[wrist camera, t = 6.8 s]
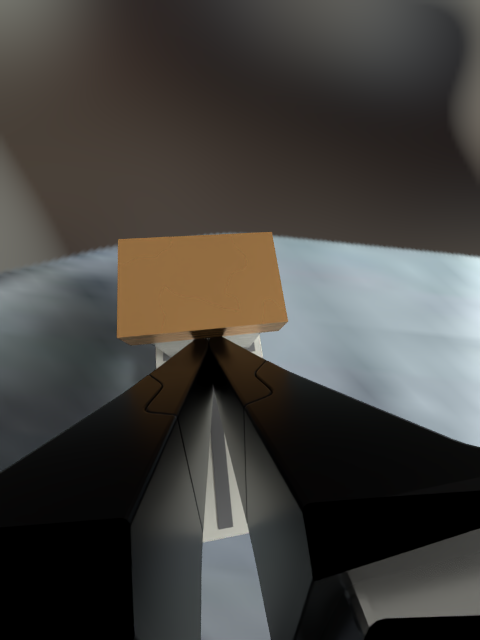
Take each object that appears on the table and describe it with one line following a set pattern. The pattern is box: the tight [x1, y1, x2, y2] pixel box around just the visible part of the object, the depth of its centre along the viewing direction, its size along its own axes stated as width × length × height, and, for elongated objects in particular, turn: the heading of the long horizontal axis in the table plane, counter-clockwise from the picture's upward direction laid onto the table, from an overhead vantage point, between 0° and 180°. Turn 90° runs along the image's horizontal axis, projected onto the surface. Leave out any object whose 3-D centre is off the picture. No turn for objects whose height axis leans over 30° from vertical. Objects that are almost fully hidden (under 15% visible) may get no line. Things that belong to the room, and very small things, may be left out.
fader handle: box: [117, 232, 288, 357], centre depth 11 cm, size 3×5×7 cm, turn 97°
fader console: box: [156, 334, 263, 542], centre depth 14 cm, size 12×6×2 cm, turn 7°
